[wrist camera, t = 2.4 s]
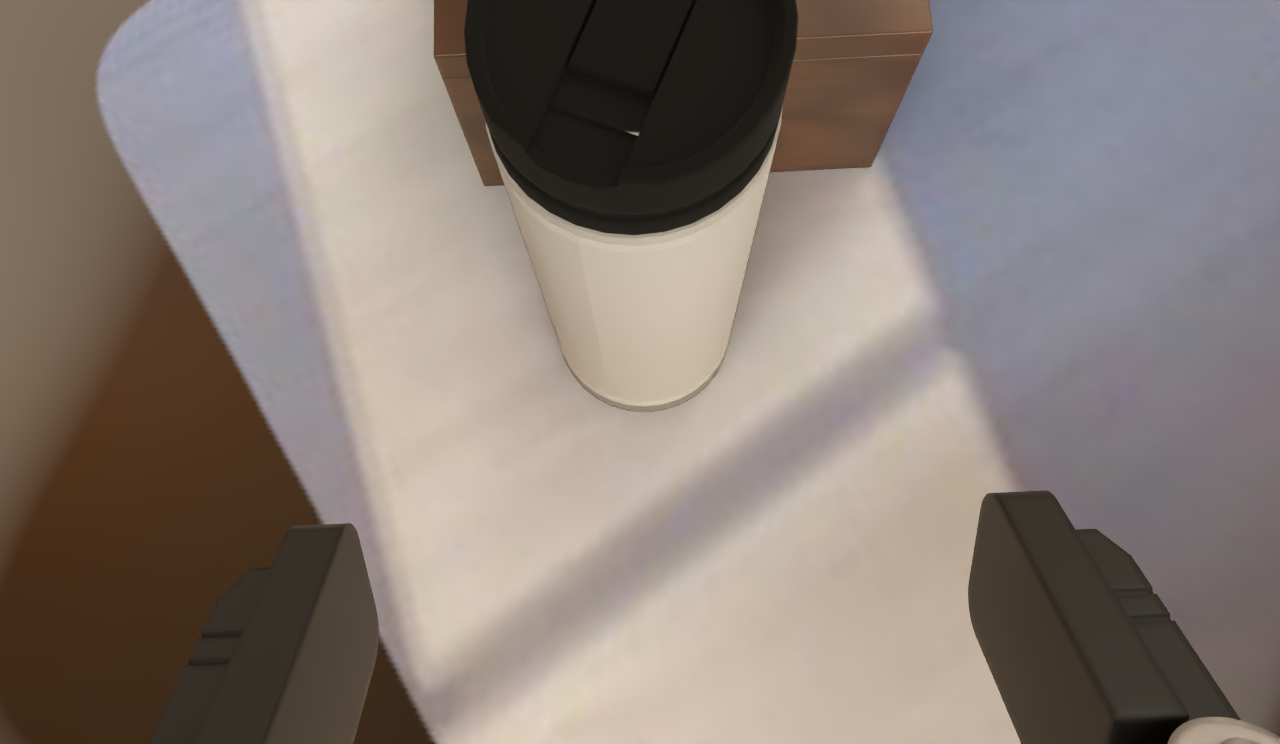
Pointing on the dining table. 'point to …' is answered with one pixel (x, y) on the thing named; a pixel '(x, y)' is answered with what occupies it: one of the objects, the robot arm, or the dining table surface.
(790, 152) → the wooden box
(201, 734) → the robot arm
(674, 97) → the travel mug
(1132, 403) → the dining table surface
